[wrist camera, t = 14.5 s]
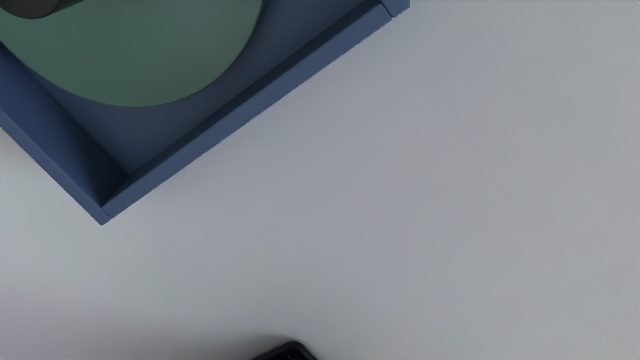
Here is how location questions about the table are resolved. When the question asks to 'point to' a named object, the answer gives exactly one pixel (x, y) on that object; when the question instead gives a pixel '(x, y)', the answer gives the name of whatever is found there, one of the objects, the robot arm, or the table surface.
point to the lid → (129, 45)
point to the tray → (175, 105)
